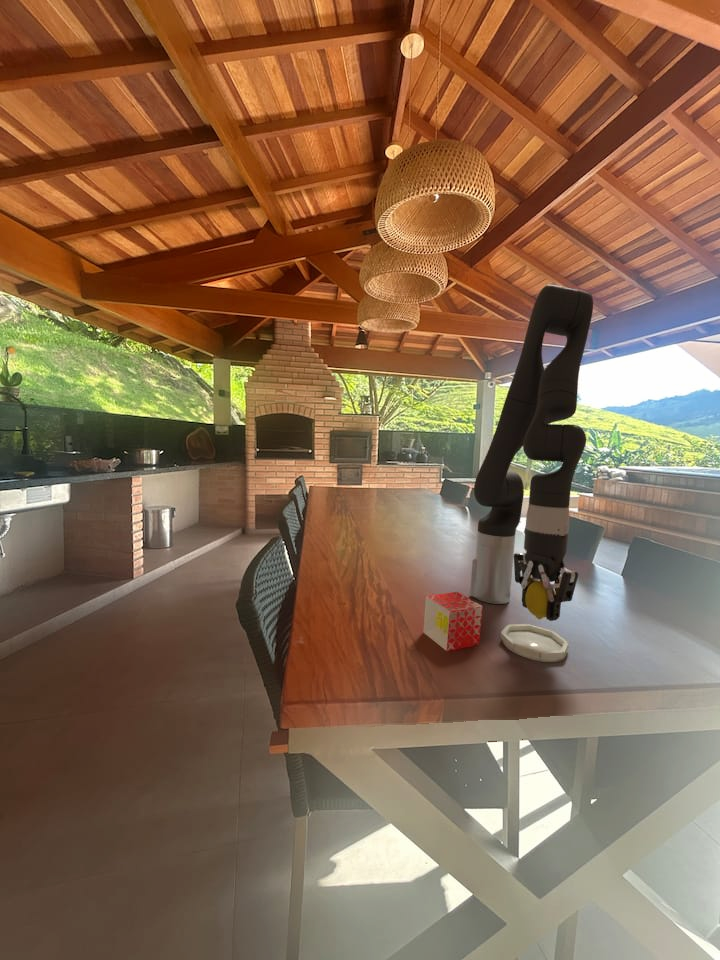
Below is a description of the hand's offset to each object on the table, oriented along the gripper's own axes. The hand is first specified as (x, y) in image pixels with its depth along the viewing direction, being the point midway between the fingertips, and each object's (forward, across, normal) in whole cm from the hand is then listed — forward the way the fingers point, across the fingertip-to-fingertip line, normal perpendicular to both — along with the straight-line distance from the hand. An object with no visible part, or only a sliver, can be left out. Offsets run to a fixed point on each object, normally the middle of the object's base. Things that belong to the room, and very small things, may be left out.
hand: (539, 612), depth 78 cm
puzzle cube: (+7, -8, -15) cm, 18 cm away
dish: (+7, 0, 0) cm, 7 cm away
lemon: (+1, 0, 0) cm, 1 cm away
